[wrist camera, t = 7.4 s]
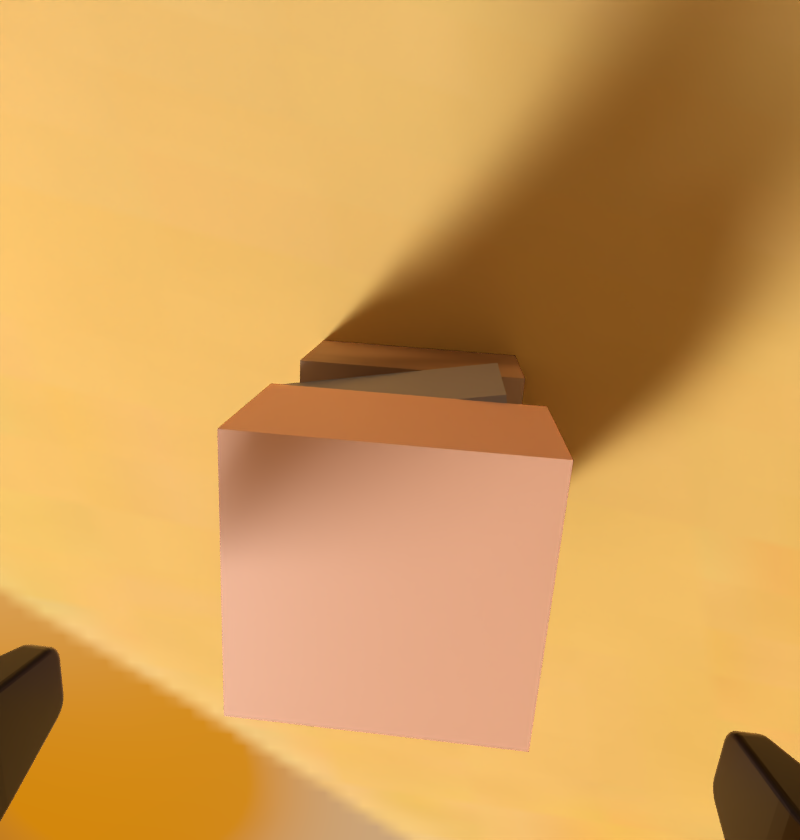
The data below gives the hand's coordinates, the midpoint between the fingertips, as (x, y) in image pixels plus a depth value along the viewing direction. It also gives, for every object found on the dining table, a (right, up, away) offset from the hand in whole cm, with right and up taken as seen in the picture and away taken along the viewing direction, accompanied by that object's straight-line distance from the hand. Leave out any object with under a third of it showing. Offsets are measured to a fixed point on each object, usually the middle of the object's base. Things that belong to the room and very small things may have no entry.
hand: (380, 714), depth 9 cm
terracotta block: (0, +2, +5) cm, 5 cm away
